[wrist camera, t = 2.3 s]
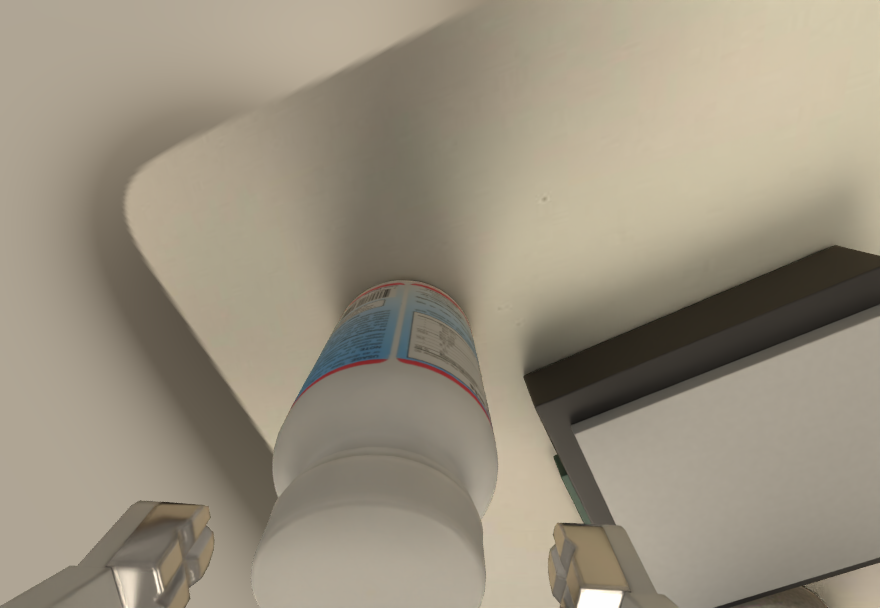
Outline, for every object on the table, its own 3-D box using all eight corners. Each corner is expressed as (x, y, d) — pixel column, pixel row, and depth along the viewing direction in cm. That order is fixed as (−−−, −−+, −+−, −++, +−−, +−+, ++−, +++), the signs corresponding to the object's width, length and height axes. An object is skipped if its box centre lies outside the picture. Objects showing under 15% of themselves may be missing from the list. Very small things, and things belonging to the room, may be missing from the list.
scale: (515, 378, 19) (529, 418, 16) (835, 244, 17) (917, 263, 14) (619, 588, 24) (644, 648, 21) (875, 506, 22) (942, 560, 19)
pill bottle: (345, 398, 20) (237, 688, 9) (333, 276, 17) (174, 468, 7) (472, 398, 20) (512, 686, 9) (475, 275, 17) (534, 466, 7)
